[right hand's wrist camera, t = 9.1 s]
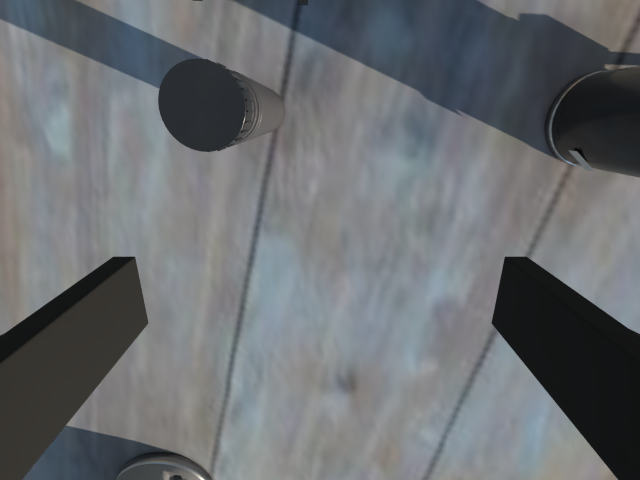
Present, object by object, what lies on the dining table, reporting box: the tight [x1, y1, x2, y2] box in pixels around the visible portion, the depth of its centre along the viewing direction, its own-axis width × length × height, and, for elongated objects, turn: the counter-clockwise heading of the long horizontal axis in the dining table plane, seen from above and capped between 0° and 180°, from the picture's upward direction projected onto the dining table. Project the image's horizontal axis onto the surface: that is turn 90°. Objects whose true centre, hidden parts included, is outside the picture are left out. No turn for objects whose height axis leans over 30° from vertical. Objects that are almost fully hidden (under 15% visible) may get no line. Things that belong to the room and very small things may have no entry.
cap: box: [158, 59, 254, 152], centre depth 18 cm, size 4×4×2 cm
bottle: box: [231, 70, 285, 145], centre depth 27 cm, size 4×4×20 cm
